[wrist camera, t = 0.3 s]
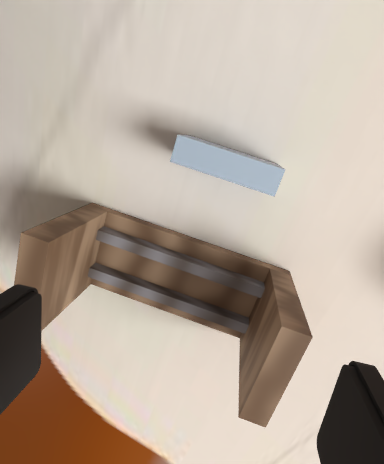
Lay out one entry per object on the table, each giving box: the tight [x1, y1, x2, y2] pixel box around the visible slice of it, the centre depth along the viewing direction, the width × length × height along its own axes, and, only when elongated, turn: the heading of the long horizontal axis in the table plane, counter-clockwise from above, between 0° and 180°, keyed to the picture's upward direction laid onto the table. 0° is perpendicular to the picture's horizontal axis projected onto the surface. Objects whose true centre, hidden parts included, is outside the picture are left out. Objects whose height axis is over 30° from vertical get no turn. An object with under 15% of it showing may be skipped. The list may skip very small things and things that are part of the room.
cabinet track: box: [14, 203, 312, 427], centre depth 39 cm, size 30×12×16 cm, turn 72°
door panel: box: [170, 134, 285, 197], centre depth 37 cm, size 12×3×8 cm, turn 72°
